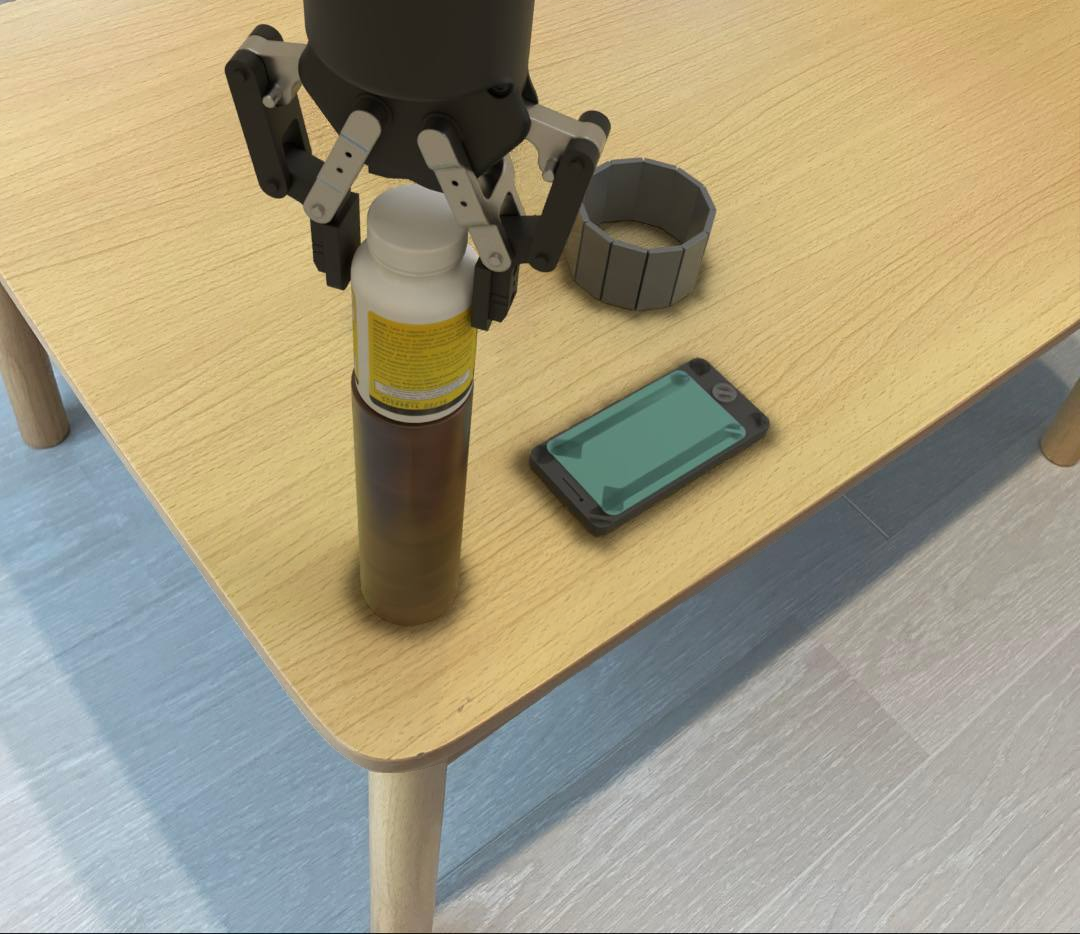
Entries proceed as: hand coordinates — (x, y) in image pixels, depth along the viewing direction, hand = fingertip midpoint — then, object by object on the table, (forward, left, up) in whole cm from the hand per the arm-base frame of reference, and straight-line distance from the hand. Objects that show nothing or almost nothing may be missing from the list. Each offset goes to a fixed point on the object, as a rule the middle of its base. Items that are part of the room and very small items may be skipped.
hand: (415, 294), depth 49 cm
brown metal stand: (0, 0, -24) cm, 24 cm away
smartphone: (-11, -15, -24) cm, 30 cm away
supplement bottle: (0, 0, -6) cm, 6 cm away
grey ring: (-6, -31, -24) cm, 39 cm away
